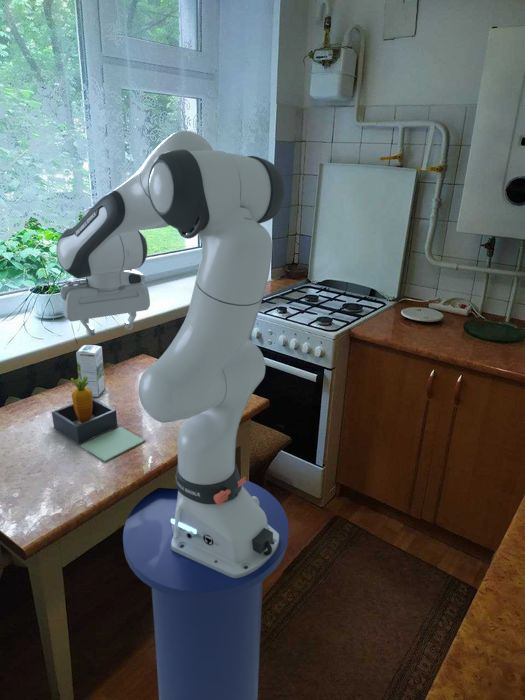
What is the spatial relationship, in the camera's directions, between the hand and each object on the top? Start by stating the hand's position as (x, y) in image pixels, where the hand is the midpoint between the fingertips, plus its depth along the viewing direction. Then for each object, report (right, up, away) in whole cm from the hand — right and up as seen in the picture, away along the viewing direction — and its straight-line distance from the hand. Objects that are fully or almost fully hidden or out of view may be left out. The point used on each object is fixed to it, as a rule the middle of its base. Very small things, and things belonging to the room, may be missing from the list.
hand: (110, 331), depth 122 cm
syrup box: (-14, -18, +29) cm, 37 cm away
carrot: (-10, -25, +10) cm, 29 cm away
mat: (0, -28, +4) cm, 28 cm away
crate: (-10, -25, +10) cm, 29 cm away
